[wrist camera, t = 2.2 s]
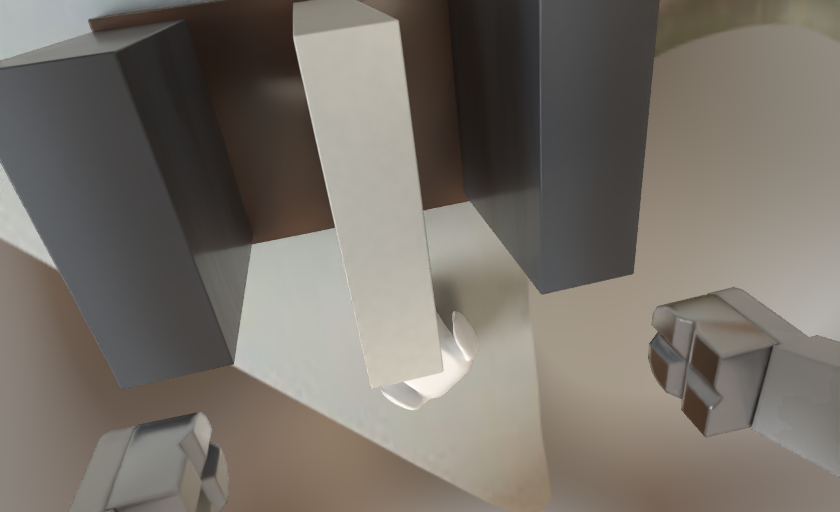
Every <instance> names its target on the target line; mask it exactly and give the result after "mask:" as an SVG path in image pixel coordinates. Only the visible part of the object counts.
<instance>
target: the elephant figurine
mask: <svg viewBox="0 0 840 512" xmlns="http://www.w3.org/2000/svg"><path fill="white" fill-rule="evenodd" d="M436 315H437V323H438V330H439V338H440V346H441V354H442V362H443V370H444V371H443V372H442V373H438V374H434V375H429V376H425V377H421V378H417V379H413V380H408V381H404V382H400V383H396V384H392V385H388V386H383V387H381V391H382V393H383V394H384V395H385V397H386V398H388V399H389V400H390V401H392V402H393V403H395V404H397V405H399V406H401V407H403V408H405V409H409V410H417V409H419V408H421V407H422V406H423V405H424V404H425V403H426V402H427V401H428V400H429V399H432V398H437V397H440V396H442V395H443V394H445V393H446V392H447V391H448V390H449V389H450V388H451V387H452V386H453V385H454V384H455V383H456V382H457V381H459V380H460V379H461V378H462V377H463V376H464V375H465V374H466V373H467V372H468V371H469V370H470V368H471V366H472V359H473V358H474V357H475V355H476V354H477V352H478V349H479V342H478V338H477V336H476V334H475V332H474V330H473V328H472V327H471V325H470V323H469V322H468V321H467V319H466V318H465V317H464V316H463V315H462V314H461V313H459V312H458V311H454V312H453V314H452V323H453V334H454V335H453V334H452V333H451V332H450V331H449V330H448V329H447V327H446V326H445V324H444V323H443V321H442V320H441V318H440V316H439V315H438V313H437V312H436Z"/></svg>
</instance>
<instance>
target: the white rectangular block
mask: <svg viewBox="0 0 840 512" xmlns="http://www.w3.org/2000/svg"><path fill="white" fill-rule="evenodd" d="M293 40H294V44H295V49H296V53H297V58H298V62H299V67H300V71H301V76H302V80H303V85H304V89H305V94H306V98H307V103H308V107H309V112H310V116H311V121H312V125H313V130H314V134H315V139H316V143H317V148H318V152H319V157H320V161H321V166H322V170H323V175H324V179H325V184H326V188H327V193H328V197H329V202H330V206H331V211H332V215H333V220H334V224H335V229H336V233H337V238H338V243H339V247H340V252H341V256H342V261H343V265H344V270H345V274H346V279H347V283H348V288H349V292H350V297H351V301H352V306H353V310H354V315H355V319H356V324H357V328H358V333H359V337H360V342H361V346H362V351H363V355H364V360H365V364H366V369H367V373H368V378H369V382H370V387H371V389H375V388H379V387H383V386H388V385H392V384H396V383H400V382H404V381H408V380H413V379H417V378H421V377H425V376H429V375H434V374H438V373H442V372H443V371H444V370H443V362H442V354H441V346H440V338H439V330H438V323H437V315H436V307H435V299H434V291H433V283H432V276H431V268H430V260H429V252H428V244H427V236H426V229H425V221H424V213H423V205H422V197H421V189H420V182H419V174H418V166H417V158H416V150H415V142H414V135H413V127H412V119H411V111H410V103H409V95H408V88H407V80H406V72H405V64H404V56H403V48H402V41H401V33H400V25H399V21H398V20H397V19H395V18H393V17H391V16H389V15H387V14H385V13H382V12H380V11H378V10H376V9H374V8H372V7H370V6H368V5H366V4H364V3H361V2H359V1H357V0H310V1H303V2H296V3H293Z"/></svg>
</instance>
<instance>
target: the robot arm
mask: <svg viewBox="0 0 840 512" xmlns="http://www.w3.org/2000/svg"><path fill="white" fill-rule="evenodd" d="M652 326H653V327H654V328H655V329H656V330H657V331H658V333H657V334H656V335H655V337H654V338H653V339H652V341H651V342H650V343H649V355H648V359H649V362H650V366H651V370H652V373H653V375H654V377H655V378H656V380H657V382H658V383H659V385H660V386H661V387H662V388H663V389H664V390H665V392H667V393H669V394H671V395H673V396H676V397H678V398H680V399H682V403H681V404H682V405H681V410H682V411H683V412H684V414H685V415H686V416H687V417H688V418H689V419H690V420H691V421H692V423H693V424H694V425H695V426H696V427H697V428H698V429H699V431H700V432H701V433H702V434H703V435H704V436H705V437H706V438H707V437H711V436H715V435H719V434H723V433H728V432H732V431H736V430H741V429H745V428H749V427H752V429H751V430H753V431H755V432H757V433H759V434H760V435H762V436H764V437H766V438H768V439H770V440H772V441H773V442H775V443H777V444H779V445H781V446H783V447H785V448H786V449H788V450H790V451H792V452H794V453H796V454H798V455H799V456H801V457H803V458H805V459H807V460H809V461H811V462H812V463H814V464H816V465H818V466H820V467H822V468H824V469H826V470H827V471H829V472H831V473H833V474H835V475H837V476H839V477H840V342H838V341H835V340H832V339H828V338H825V337H821V336H818V335H816V336H812V337H808V336H807V335H805V334H804V333H803V332H801V331H800V330H798V329H797V328H796V327H794V326H793V325H791V324H790V323H789V322H787V321H786V320H784V319H783V318H782V317H780V316H779V315H777V314H776V313H775V312H773V311H772V310H770V309H769V308H767V307H766V306H765V305H764V304H762V303H761V302H759V301H758V300H756V299H755V298H754V297H752V296H751V295H749V294H748V293H747V292H745V291H744V290H742V289H738V288H735V287H732V288H728V289H724V290H720V291H716V292H712V293H708V294H707V295H702V296H698V297H694V298H690V299H686V300H681V301H677V302H673V303H669V304H665V305H661V306H657V307H656V309H655V311H654V313H653V317H652ZM211 431H212V427H211V425H210V423H209V422H208V419H207V417H206V415H205V414H203V413H200V412H198V413H193V414H188V415H183V416H179V417H174V418H169V419H164V420H159V421H154V422H150V423H145V424H140V425H138V426H133V427H129V428H124V429H119V430H114V431H109V432H107V433H106V434H104V435H103V436H102V437H101V438H100V440H99V441H98V443H97V446H96V448H95V450H94V453H93V455H92V457H91V460H90V462H89V464H88V467H87V469H86V471H85V474H84V476H83V478H82V481H81V483H80V486H79V488H78V490H77V492H76V495H75V497H74V499H73V502H72V504H71V506H70V509H69V511H68V512H221V510H222V509H223V508H224V506H225V505H226V504H227V501H228V490H229V480H228V468H227V464H226V460H225V456H224V454H223V452H222V449H221V447H220V446H218V445H216V444H214V443H213V442H211V441H210V436H211Z"/></svg>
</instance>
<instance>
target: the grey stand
mask: <svg viewBox="0 0 840 512" xmlns="http://www.w3.org/2000/svg"><path fill="white" fill-rule="evenodd" d="M303 1H310V0H217V1H210V2H203V3H196V4H189V5H182V6H175V7H168V8H161V9H154V10H147V11H140V12H133V13H126V14H119V15H111V16H104V17H97V18H93V19H89V20H88V22H89V24H90V27H91V29H92V32H91V33H88V34H85V35H82V36H78V37H75V38H72V39H69V40H65V41H62V42H59V43H56V44H53V45H49V46H46V47H43V48H40V49H36V50H33V51H30V52H27V53H24V54H20V55H17V56H14V57H11V58H7V59H4V60H1V61H0V163H1V164H2V166H3V168H4V170H5V172H6V174H7V176H8V178H9V179H10V181H11V183H12V185H13V187H14V189H15V191H16V192H17V194H18V196H19V198H20V200H21V202H22V204H23V206H24V207H25V209H26V211H27V213H28V215H29V217H30V219H31V220H32V222H33V224H34V226H35V228H36V230H37V232H38V234H39V235H40V237H41V239H42V241H43V243H44V245H45V247H46V249H47V250H48V252H49V254H50V256H51V258H52V260H53V262H54V263H55V265H56V267H57V269H58V271H59V273H60V275H61V276H62V278H63V280H64V282H65V284H66V286H67V288H68V290H69V291H70V293H71V295H72V297H73V299H74V301H75V303H76V305H77V306H78V308H79V310H80V312H81V314H82V315H83V318H84V319H85V321H86V323H87V325H88V327H89V329H90V330H91V333H92V334H93V336H94V338H95V340H96V342H97V344H98V346H99V347H100V349H101V351H102V353H103V355H104V357H105V359H106V361H107V362H108V364H109V366H110V368H111V370H112V372H113V373H114V375H115V377H116V379H117V381H118V383H119V385H120V387H121V389H126V388H131V387H135V386H139V385H144V384H148V383H153V382H157V381H162V380H166V379H170V378H175V377H179V376H184V375H188V374H192V373H197V372H202V371H206V370H210V369H214V368H219V367H224V366H228V365H233V364H234V359H235V353H236V346H237V339H238V333H239V326H240V319H241V313H242V306H243V299H244V293H245V286H246V279H247V273H248V266H249V259H250V253H251V246H252V244H256V243H261V242H266V241H271V240H276V239H281V238H286V237H291V236H296V235H301V234H306V233H311V232H316V231H321V230H326V229H331V228H335V224H334V220H333V215H332V211H331V206H330V202H329V197H328V193H327V188H326V184H325V179H324V175H323V170H322V166H321V161H320V157H319V152H318V148H317V143H316V139H315V134H314V130H313V125H312V121H311V116H310V112H309V107H308V103H307V98H306V94H305V89H304V85H303V80H302V76H301V71H300V67H299V62H298V58H297V53H296V49H295V44H294V40H293V3H296V2H303ZM357 1H359V2H361V3H364V4H366V5H368V6H370V7H372V8H374V9H376V10H378V11H380V12H382V13H385V14H387V15H389V16H391V17H393V18H395V19H397V20H398V21H399V25H400V33H401V41H402V48H403V56H404V64H405V72H406V80H407V88H408V95H409V103H410V111H411V119H412V127H413V135H414V142H415V150H416V158H417V166H418V174H419V182H420V189H421V197H422V205H423V210H427V209H432V208H437V207H442V206H447V205H452V204H457V203H462V202H467V201H470V202H471V203H472V204H473V206H474V207H475V208H476V210H477V211H478V212H479V214H480V215H481V216H482V217H483V219H484V220H485V221H486V223H487V224H488V225H489V227H490V228H491V229H492V231H493V232H494V233H495V234H496V236H497V237H498V238H499V240H500V241H501V242H502V244H503V245H504V246H505V247H506V249H507V250H508V251H509V253H510V254H511V255H512V257H513V258H514V259H515V261H516V262H517V263H518V264H519V266H520V267H521V268H522V270H523V271H524V272H525V274H526V275H527V276H528V278H529V279H530V280H531V281H532V283H533V284H534V285H535V287H536V288H537V289H538V291H539V292H540V293H541V294H547V293H551V292H555V291H559V290H564V289H569V288H573V287H578V286H582V285H586V284H591V283H596V282H600V281H605V280H609V279H613V278H618V277H622V276H626V275H631V274H633V273H634V263H635V253H636V242H637V231H638V220H639V210H640V200H641V188H642V178H643V168H644V157H645V146H646V136H647V126H648V125H647V124H648V115H649V104H650V94H651V83H652V73H653V62H654V51H655V41H656V30H657V20H658V9H659V0H357Z"/></svg>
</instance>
